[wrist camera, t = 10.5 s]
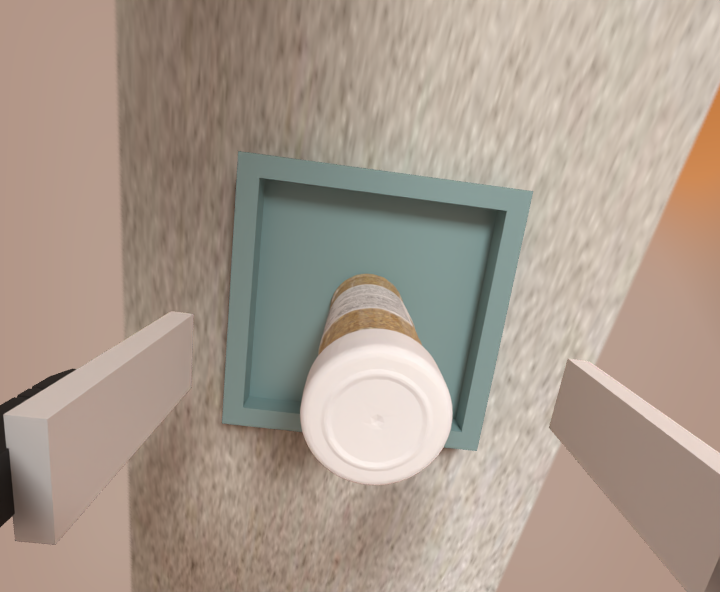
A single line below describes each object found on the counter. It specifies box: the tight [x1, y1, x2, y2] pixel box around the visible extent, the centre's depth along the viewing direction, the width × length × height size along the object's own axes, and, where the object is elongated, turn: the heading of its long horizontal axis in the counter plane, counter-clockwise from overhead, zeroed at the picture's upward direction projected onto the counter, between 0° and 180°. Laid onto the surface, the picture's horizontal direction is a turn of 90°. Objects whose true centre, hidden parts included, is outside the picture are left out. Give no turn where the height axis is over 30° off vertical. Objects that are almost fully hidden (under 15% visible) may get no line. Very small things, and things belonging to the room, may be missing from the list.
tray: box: [222, 151, 533, 451], centre depth 24 cm, size 16×16×2 cm
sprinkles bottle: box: [300, 274, 452, 485], centre depth 18 cm, size 5×5×13 cm
